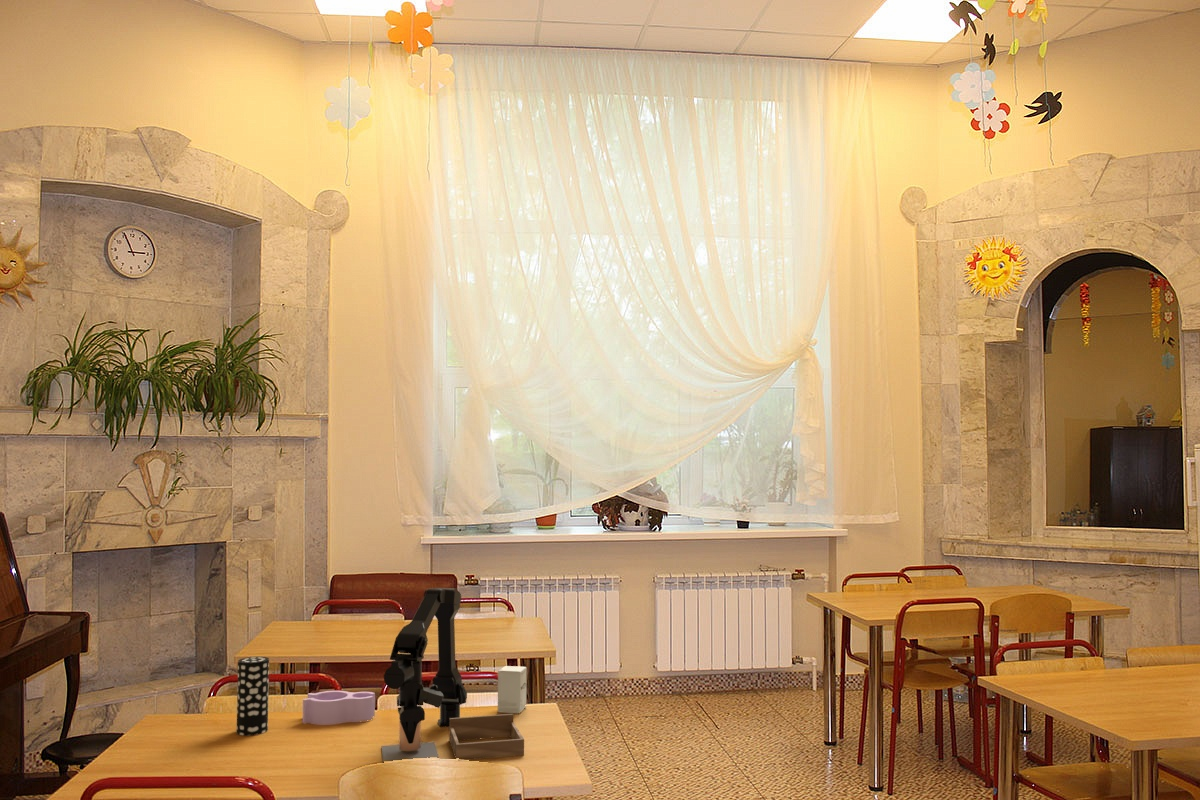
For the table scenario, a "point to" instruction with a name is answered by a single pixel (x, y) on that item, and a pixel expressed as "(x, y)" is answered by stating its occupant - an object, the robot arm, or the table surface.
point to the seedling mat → (409, 752)
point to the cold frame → (485, 736)
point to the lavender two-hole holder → (338, 707)
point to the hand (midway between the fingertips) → (410, 740)
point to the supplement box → (511, 689)
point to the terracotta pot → (404, 743)
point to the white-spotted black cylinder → (252, 695)
